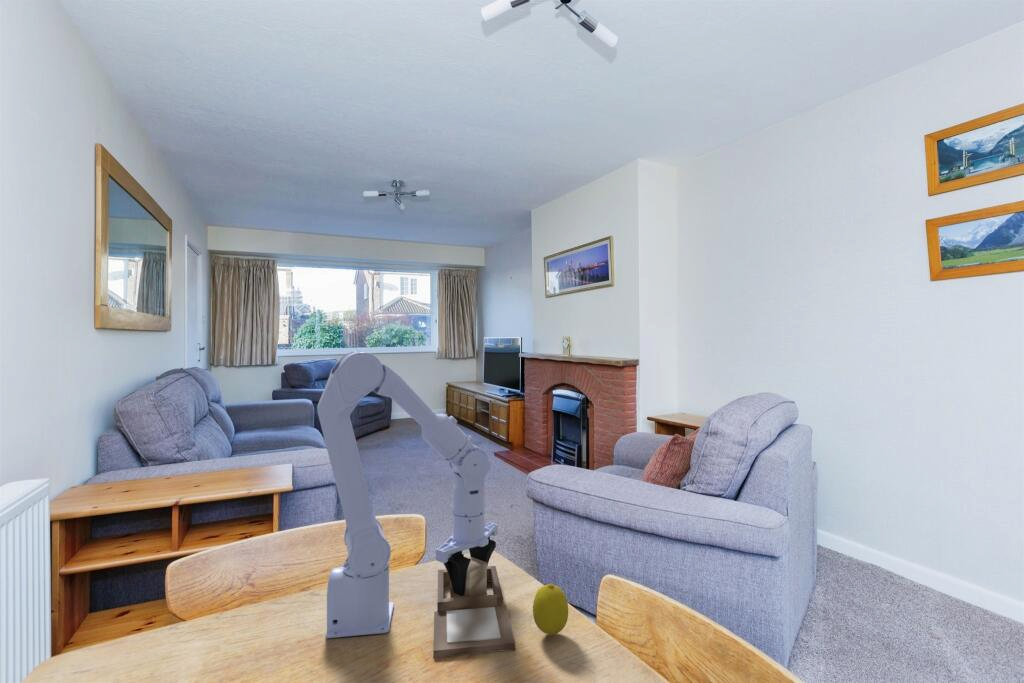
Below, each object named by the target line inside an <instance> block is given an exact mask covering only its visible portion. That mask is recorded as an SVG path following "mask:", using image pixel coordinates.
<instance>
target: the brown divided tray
mask: <svg viewBox="0 0 1024 683" xmlns="http://www.w3.org/2000/svg"><path fill="white" fill-rule="evenodd" d="M487 581H491V582H490V584H492V585H491V589H493V590H492V594H487V595H481V596H468V597H456V598H450V597H446V598H444V586H450V577H449V574H448V572H447V569H446V568H443V569H437V600H436V601H437V602H436V604H437V608H436V610H437V611H434V612H433V615H434V616H433V644H432V645H433V649H432V650H433V651H432V652H433V653H432V656H433V657H432V658H442V657H453V656H462V655H464V656H465V655H473V654H474V655H475V654H484V653H493V652H504V651H513V650H516V641H515V636H514V633H513V628H512V625H511V622H510V621H511V620H510V617H509V613H508V609H507V608H508V607H507V605H504V596H503V590H502V587H501V583H500V579H499V574H498V571H497V566H496V565H490V566H489V565H488V566H487Z"/></svg>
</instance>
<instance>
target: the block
mask: <svg viewBox="0 0 1024 683" xmlns="http://www.w3.org/2000/svg"><path fill="white" fill-rule="evenodd" d="M465 557H466V558H469V559H471V561H470V563H469V566H468V570H467V575H466V587H465V593H464V595H463V596H460V595H457V594H455V593H453V589H452V585H451V581H450V585H449V586H450V589H449V590H450V592H449V593H450V594H449V595H450V596H449V598H456V597H468V596H481V595H488V593H487V592H488V591H487V590H488V586H487V584H488V582H487V562H484V561H482V560H479V559H476V558H473V557H471V556H470V555H466V556H465Z"/></svg>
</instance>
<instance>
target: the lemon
mask: <svg viewBox="0 0 1024 683" xmlns="http://www.w3.org/2000/svg"><path fill="white" fill-rule="evenodd" d="M532 617H533V621H534V623H535V625H536V626H537V628H538V630H540V631H541V632H542V633H543V634H545V635H548V636H549V637H552V636H554V635H556V634H558V633H561V632H562V631H563V630H564V628H565V626H566V625H567V623H568V619H569V603H568V600H567V596H566V594H565V593H564V591H563V590H562V589H561V587H559V586H557V585H555V584H553V583H548V584H545V585H542V586H541V587H540V588H539V589H538V590H537V592H535V596H534V599H533V604H532Z"/></svg>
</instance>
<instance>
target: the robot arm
mask: <svg viewBox="0 0 1024 683" xmlns="http://www.w3.org/2000/svg"><path fill="white" fill-rule="evenodd" d="M371 392H373V393H375V394H376V395H379V396H381V397H382V396H383V397H386V398H390V399H391V400H392V401H393V402H395V404H396V405H398V406H399V408H401V409H402V410H403V411H404V412H405V413H406V414H407V415H408V416H410V417H411V418H412V420H414V421H415V422H416V423H417V424H419V426H420V427H421V439H422V440H423V441H424V442H425V443H426V444H428V445H429V446H430V447H431V448H432V449H433V450H434V451H435V452H436V453H437V454H438V456H440V457H441V458H442V459H443V460H444V461H445V462H446V463H448V465H449V468H451V469H453V470H454V471H453V479H452V480H453V486H452V535H451V536H450V537H449V538H447V539H446V541H444V542H443V544H442V545H440V546H439V547H437V548H436V549H435V561H438V562H440V563H441V564H443V565H444V568H445V569H447V572H448V574H449V577H450V581H451V585H452V589H453V593H455V594H457V595H460V596H463V595H464V593H465V587H466V575H467V570H468V566H469V563H470V561H471V559H469V558H466V556H465V554H463V551H466V550H468V551H469V556H471V557H473V558H476V559H479V560H482V561H484V562H487V566H489V565H488V564H489V562H490V559H491V557H492V554H493V553H494V551H495V549H496V547H497V542H496V541H495V540H493V539H491V538H490V537H491V536H493V537H495V536H497V535H498V534H499V532H498V531H499V527H498V525H499V524H497V523H494V522H491V521H490V522H487V523H486V522H485V521H486V519H485V518H486V514H485V513H486V512H485V510H486V501H485V500H486V486H485V485H486V484H485V483H486V482H485V480H486V476H487V475H488V474H489V471H490V468H491V462H490V461H489V459H488V457H489V456H488V454H487V453H486V451H484V450H483V448H481V447H478V446H477V445H475V444H474V442H475V438H474V437H473V436H471V435H470V434H469V435H467V434H466V433H465V432H464V431H463V430H462V429H461V428H460V427H459V426H458V424H457V423H458V420H457V419H456V418H455V417H454V416H453V415H450V416H449V415H448V414H446V413H435V412H434V411H433V410H432V409H431V408H430V407H429V406H428V405H427V403H426V402H425V401H424V400H423V399H421V397H420V396H419V395H418V394H417V393H416V392H415V391H414V390H413V388H412V387H410V385H409V384H408V383H407V382H406V381H405V380H404V379H403V377H402V376H400V375H399V374H398V373H396V372H395V371H394V370H393V369H391V368H390V367H389V366H388V365H386V364H383V363H381V361H380V360H379V358H378V357H377V356H376V355H373V354H372V353H369V352H365V351H359V350H357V351H356V350H354V351H351V352H347V353H346V354H344V355H343V356H341V358H340V359H339V360H338V361H337V362H336V363H335V365H334V366H333V367H332V368H331V369H330V373H329V376H328V378H327V381H326V384H325V386H324V389H323V391H322V393H321V397H320V398H319V401H318V404H317V409H316V410H317V415H318V420H319V423H320V427H321V431H322V434H323V439H324V442H325V446H326V451H327V455H328V458H329V463H330V465H331V470H332V473H333V478H334V482H335V486H336V489H337V493H338V497H339V501H340V505H341V509H342V513H343V516H344V521H345V531H344V536H343V539H344V540H343V541H344V545H345V546H346V549H347V550H346V551H347V557H346V559H345V561H344V562H343V565H342V566H338V567H333V568H332V569H331V570H330V572H329V578H328V580H327V591H326V632H325V638H326V639H333V638H342V637H343V638H344V637H354V636H364V635H365V636H366V635H376V634H378V635H379V634H387V633H388V632H389V631H390V628H391V623H392V616H393V612H394V611H393V610H394V602H392V601H390V559H391V554H392V550H391V546H390V543H389V541H388V540H387V539H386V537H385V534H384V531H383V526H382V524H381V523H380V522H379V520H378V519H377V517H376V514H375V511H374V508H373V503H372V500H371V495H370V492H369V487H368V484H367V481H366V480H367V479H366V476H365V473H364V472H365V471H364V468H363V463H362V460H361V456H360V452H359V447H358V445H357V439H356V436H355V431H354V428H353V423H352V420H351V414H352V413H353V411H354V410H355V408H356V407H357V405H358V404H359V402H361V400H362V399H363V398H364V397H366V396H367V395H368V394H370V393H371Z"/></svg>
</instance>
